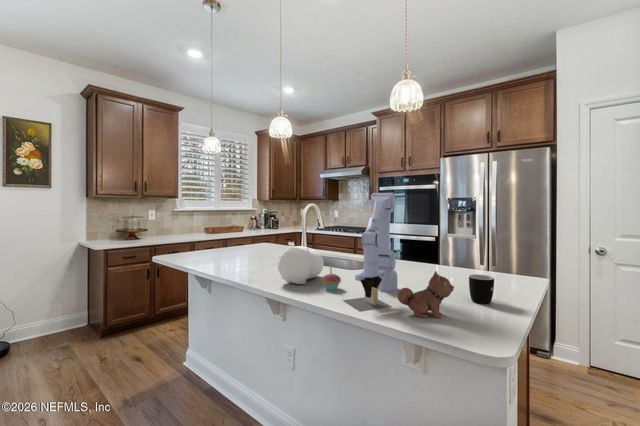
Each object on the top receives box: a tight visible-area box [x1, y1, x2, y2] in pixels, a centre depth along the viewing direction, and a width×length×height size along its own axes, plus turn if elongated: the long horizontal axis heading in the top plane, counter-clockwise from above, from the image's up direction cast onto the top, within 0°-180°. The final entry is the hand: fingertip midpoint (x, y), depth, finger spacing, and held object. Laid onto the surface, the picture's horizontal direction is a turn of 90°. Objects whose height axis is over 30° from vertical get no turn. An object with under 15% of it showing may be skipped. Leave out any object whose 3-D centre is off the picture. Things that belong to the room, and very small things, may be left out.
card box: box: [364, 287, 379, 305], centre depth 123 cm, size 2×5×6 cm, turn 35°
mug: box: [468, 273, 495, 305], centre depth 126 cm, size 12×9×10 cm
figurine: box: [397, 270, 455, 319], centre depth 112 cm, size 10×19×15 cm, turn 80°
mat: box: [341, 296, 392, 312], centre depth 122 cm, size 14×14×1 cm
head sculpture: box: [277, 241, 325, 285], centre depth 161 cm, size 19×20×28 cm
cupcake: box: [321, 264, 342, 291], centre depth 143 cm, size 9×8×12 cm
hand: (370, 296), depth 123 cm, fingers closed on card box, 2 cm apart
